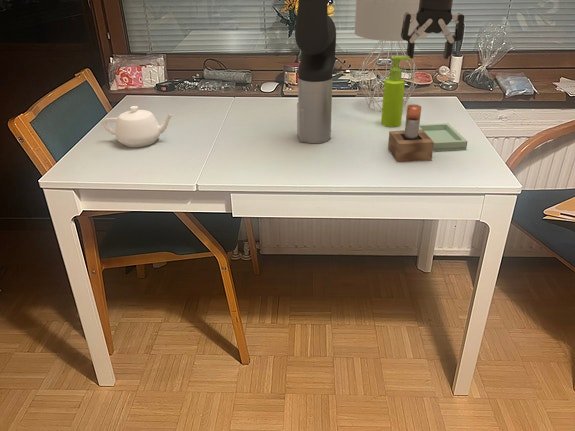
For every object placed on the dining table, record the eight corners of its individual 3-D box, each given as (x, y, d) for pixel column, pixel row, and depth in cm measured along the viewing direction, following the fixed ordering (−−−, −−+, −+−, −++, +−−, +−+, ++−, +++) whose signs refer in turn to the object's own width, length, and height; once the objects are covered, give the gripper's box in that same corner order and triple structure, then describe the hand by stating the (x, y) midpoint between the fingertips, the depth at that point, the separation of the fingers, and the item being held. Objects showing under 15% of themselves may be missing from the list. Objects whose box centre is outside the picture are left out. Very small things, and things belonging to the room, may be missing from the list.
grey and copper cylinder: (404, 157, 139) (409, 109, 132) (400, 152, 142) (405, 104, 135) (417, 156, 139) (423, 108, 133) (413, 151, 142) (418, 104, 136)
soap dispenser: (404, 127, 157) (411, 59, 148) (380, 126, 159) (385, 58, 149) (404, 121, 162) (411, 54, 152) (381, 119, 164) (386, 53, 154)
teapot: (180, 133, 156) (176, 99, 151) (172, 149, 146) (167, 113, 141) (112, 133, 157) (106, 100, 152) (99, 150, 146) (92, 114, 141)
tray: (429, 151, 142) (431, 143, 141) (413, 132, 154) (414, 124, 153) (466, 149, 143) (467, 141, 142) (447, 131, 155) (448, 123, 154)
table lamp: (406, 122, 161) (421, -22, 141) (339, 111, 171) (344, -25, 151) (429, 102, 178) (445, -30, 158) (366, 92, 188) (374, -32, 168)
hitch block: (397, 162, 136) (399, 144, 134) (387, 148, 144) (389, 131, 142) (431, 160, 137) (433, 142, 135) (420, 146, 145) (422, 129, 142)
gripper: (409, -12, 120) (401, 61, 128) (473, -11, 119) (461, 62, 128) (404, -16, 126) (396, 54, 134) (464, -15, 126) (453, 54, 134)
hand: (428, 58), depth 131 cm, fingers open, 8 cm apart
